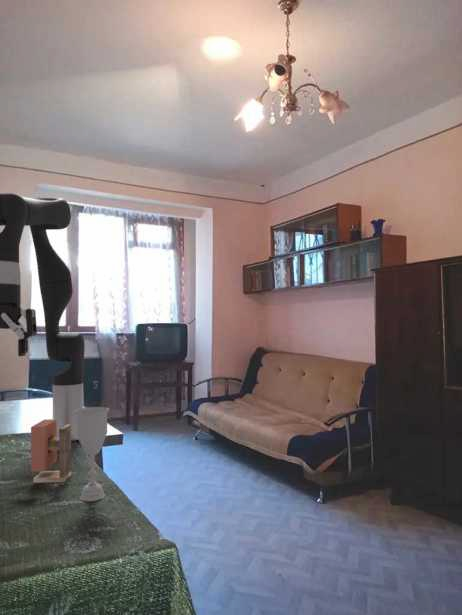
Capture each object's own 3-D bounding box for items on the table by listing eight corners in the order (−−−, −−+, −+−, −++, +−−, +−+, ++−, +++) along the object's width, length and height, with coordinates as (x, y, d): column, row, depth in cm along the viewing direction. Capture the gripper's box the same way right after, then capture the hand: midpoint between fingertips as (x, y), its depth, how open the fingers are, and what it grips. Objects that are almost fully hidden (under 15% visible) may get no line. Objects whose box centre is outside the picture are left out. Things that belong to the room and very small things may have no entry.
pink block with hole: (44, 460, 112) (44, 419, 112) (56, 460, 112) (56, 419, 112) (31, 471, 104) (30, 427, 104) (44, 471, 104) (44, 426, 105)
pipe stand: (41, 475, 111) (41, 425, 111) (71, 474, 111) (70, 424, 111) (33, 482, 106) (33, 430, 106) (64, 481, 106) (63, 429, 106)
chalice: (116, 492, 99) (116, 407, 99) (97, 504, 92) (97, 414, 93) (88, 489, 101) (87, 406, 101) (67, 500, 94) (66, 412, 95)
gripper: (40, 284, 106) (41, 354, 106) (-22, 285, 106) (-22, 355, 105) (27, 281, 99) (27, 357, 98) (-41, 282, 98) (-40, 358, 98)
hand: (2, 356), depth 102 cm, fingers open, 8 cm apart
